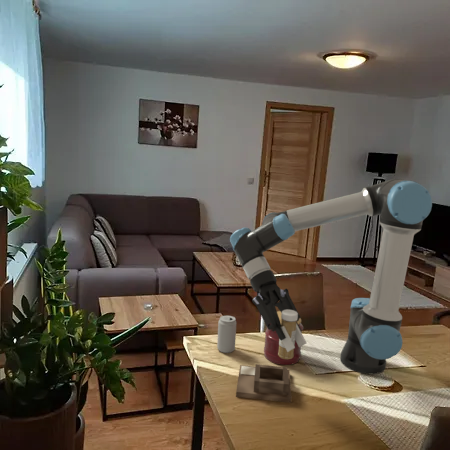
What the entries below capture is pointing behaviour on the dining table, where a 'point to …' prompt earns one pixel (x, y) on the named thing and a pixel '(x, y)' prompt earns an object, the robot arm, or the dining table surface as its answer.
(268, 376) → the spice caddy
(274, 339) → the canister
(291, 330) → the sprinkles bottle
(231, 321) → the beverage can
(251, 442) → the dining table surface
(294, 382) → the dining table surface
